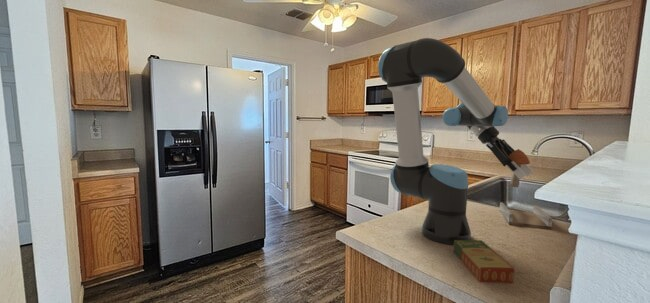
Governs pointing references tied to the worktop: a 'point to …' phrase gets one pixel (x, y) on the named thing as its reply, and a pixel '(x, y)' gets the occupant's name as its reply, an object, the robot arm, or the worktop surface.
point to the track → (526, 217)
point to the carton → (483, 261)
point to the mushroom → (519, 159)
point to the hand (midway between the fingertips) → (526, 175)
